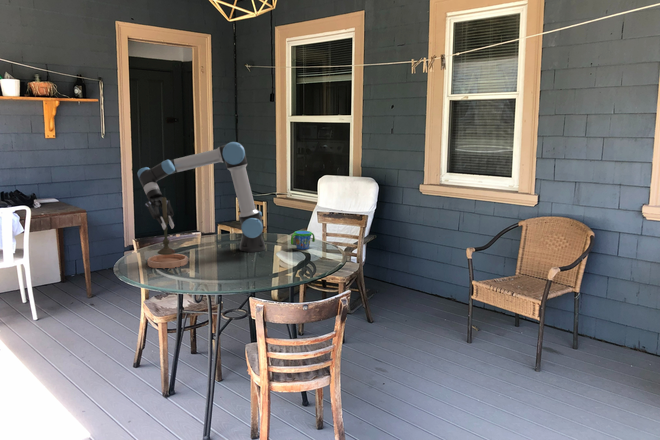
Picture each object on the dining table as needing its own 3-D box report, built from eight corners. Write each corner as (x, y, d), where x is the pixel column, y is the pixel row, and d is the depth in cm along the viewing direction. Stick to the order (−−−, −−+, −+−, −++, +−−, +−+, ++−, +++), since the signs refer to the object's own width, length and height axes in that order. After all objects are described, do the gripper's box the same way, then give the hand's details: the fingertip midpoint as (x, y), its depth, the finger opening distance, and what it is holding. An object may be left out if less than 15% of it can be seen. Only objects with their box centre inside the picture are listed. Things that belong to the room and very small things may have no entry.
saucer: (188, 258, 291) (188, 253, 290) (186, 267, 271) (185, 262, 271) (150, 259, 287) (150, 254, 286) (145, 269, 267) (145, 263, 267)
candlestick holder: (170, 255, 273) (167, 197, 267) (154, 254, 274) (151, 197, 269) (178, 251, 281) (176, 195, 276) (162, 250, 283) (160, 195, 278)
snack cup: (311, 245, 325) (311, 229, 323) (318, 249, 316) (318, 232, 314) (287, 248, 318) (287, 231, 317) (294, 251, 309) (294, 234, 307)
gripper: (165, 195, 290) (181, 229, 281) (136, 198, 278) (151, 233, 269) (169, 187, 285) (186, 221, 276) (139, 189, 273) (155, 225, 265)
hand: (168, 227), depth 273 cm, fingers closed on candlestick holder, 4 cm apart
